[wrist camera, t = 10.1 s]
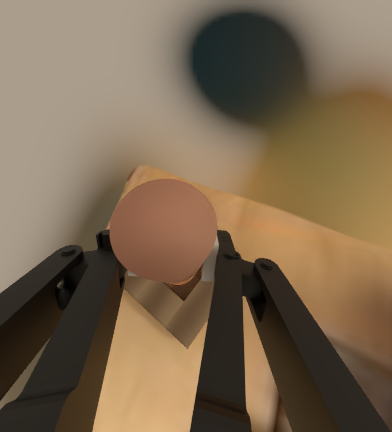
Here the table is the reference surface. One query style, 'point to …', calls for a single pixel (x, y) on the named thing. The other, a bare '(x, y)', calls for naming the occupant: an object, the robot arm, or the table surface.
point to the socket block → (173, 305)
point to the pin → (163, 231)
